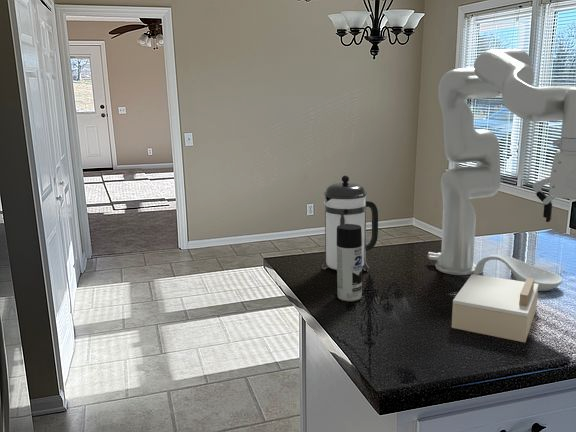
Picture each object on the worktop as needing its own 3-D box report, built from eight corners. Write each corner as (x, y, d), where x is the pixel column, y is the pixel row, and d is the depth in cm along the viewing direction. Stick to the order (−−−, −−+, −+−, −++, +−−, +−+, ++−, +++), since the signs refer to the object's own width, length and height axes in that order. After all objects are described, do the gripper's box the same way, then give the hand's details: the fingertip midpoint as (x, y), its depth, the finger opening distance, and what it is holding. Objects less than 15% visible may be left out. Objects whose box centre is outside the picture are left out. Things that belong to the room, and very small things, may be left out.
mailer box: (451, 327, 124) (452, 303, 122) (470, 298, 140) (471, 277, 139) (525, 342, 116) (527, 317, 114) (536, 309, 132) (538, 287, 131)
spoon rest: (567, 287, 147) (569, 262, 145) (552, 299, 139) (555, 273, 137) (484, 269, 163) (485, 247, 161) (467, 279, 155) (468, 256, 153)
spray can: (355, 303, 139) (355, 230, 134) (332, 299, 142) (332, 227, 138) (365, 295, 144) (366, 224, 140) (343, 291, 148) (343, 222, 143)
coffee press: (368, 280, 155) (369, 180, 148) (316, 275, 160) (314, 178, 153) (377, 262, 171) (379, 171, 164) (330, 258, 176) (329, 169, 169)
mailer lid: (452, 303, 122) (453, 289, 121) (471, 276, 139) (472, 264, 138) (527, 316, 114) (528, 302, 113) (538, 286, 131) (539, 274, 130)
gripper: (533, 146, 114) (527, 222, 118) (627, 148, 105) (617, 231, 109) (538, 143, 120) (532, 215, 124) (627, 145, 111) (618, 223, 115)
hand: (572, 223), depth 117 cm, fingers open, 9 cm apart
